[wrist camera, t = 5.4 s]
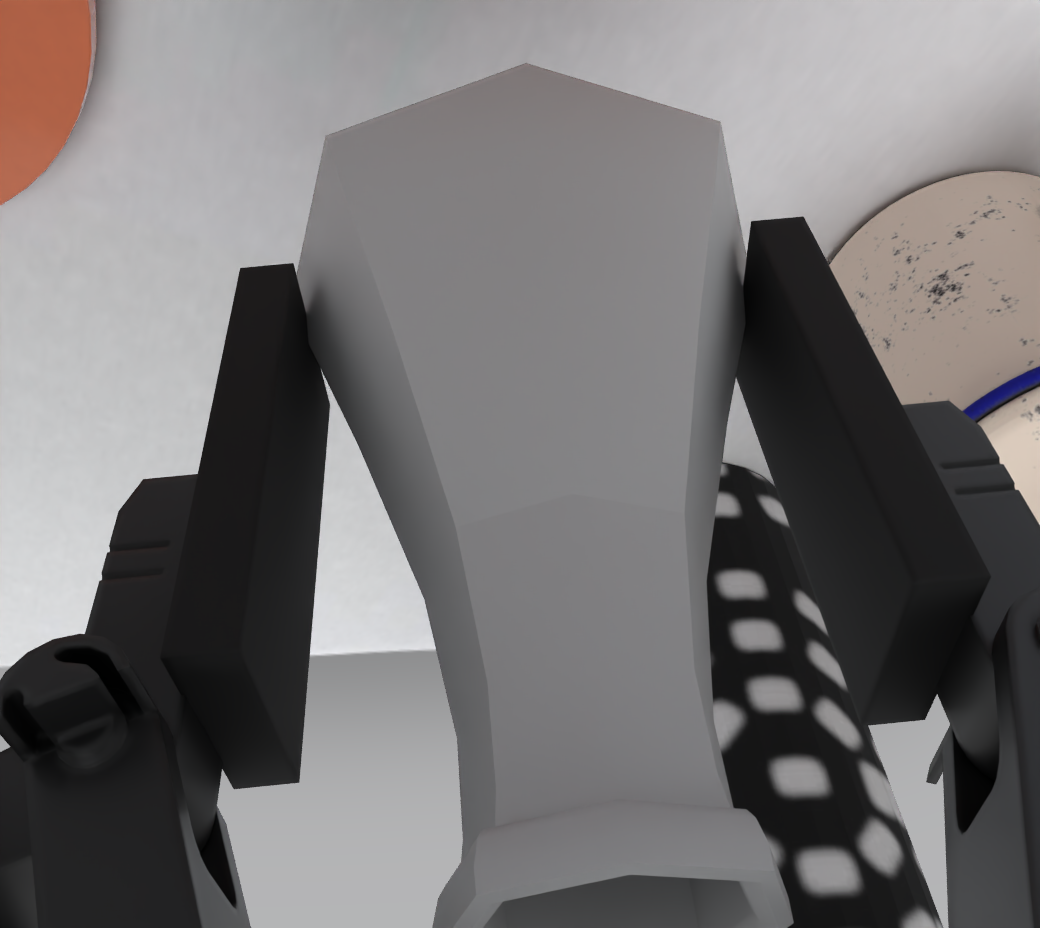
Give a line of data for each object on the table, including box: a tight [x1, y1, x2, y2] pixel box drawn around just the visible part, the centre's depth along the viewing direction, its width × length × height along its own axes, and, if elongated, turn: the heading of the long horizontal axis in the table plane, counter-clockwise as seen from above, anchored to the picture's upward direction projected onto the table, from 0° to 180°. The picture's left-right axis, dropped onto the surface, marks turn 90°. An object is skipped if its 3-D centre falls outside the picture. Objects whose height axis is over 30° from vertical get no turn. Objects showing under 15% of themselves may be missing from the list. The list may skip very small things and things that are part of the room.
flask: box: [297, 63, 794, 928], centre depth 12 cm, size 7×7×10 cm
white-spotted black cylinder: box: [706, 464, 943, 928], centre depth 31 cm, size 8×8×20 cm
